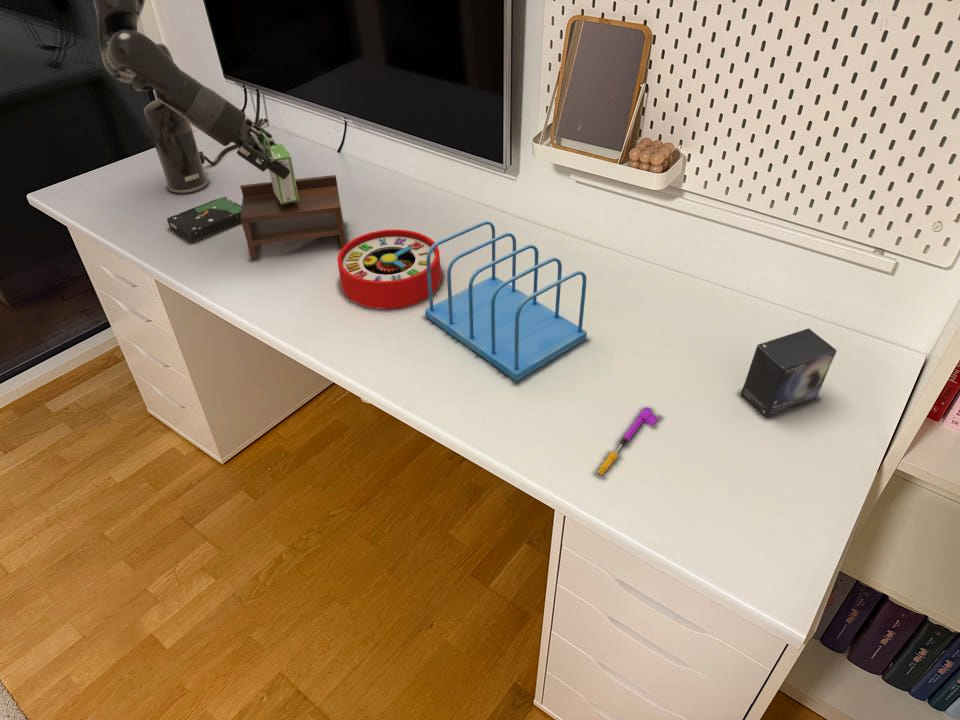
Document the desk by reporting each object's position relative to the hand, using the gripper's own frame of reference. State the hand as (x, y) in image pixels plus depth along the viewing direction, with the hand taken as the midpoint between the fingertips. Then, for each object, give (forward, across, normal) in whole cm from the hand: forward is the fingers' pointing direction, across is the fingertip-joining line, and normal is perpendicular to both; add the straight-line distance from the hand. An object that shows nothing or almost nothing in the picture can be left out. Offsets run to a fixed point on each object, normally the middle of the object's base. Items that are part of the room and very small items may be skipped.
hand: (287, 166), depth 140 cm
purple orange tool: (+46, -72, -21) cm, 88 cm away
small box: (+65, -69, -40) cm, 103 cm away
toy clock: (+25, -20, 0) cm, 31 cm away
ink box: (+4, 0, +6) cm, 7 cm away
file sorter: (+38, -40, -13) cm, 57 cm away
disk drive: (-2, +14, +27) cm, 31 cm away
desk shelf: (+12, 0, +13) cm, 18 cm away
